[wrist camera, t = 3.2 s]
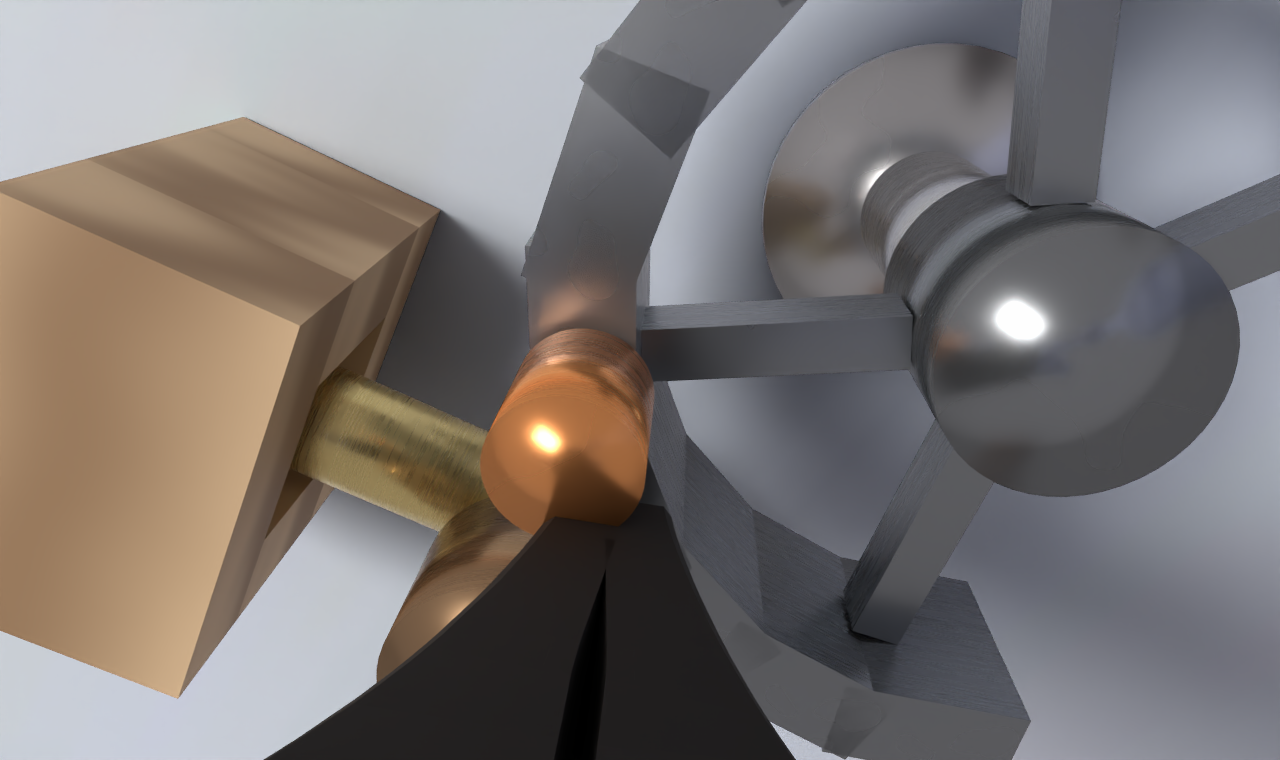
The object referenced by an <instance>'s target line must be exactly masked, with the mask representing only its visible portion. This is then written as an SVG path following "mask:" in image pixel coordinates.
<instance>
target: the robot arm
mask: <svg viewBox="0 0 1280 760" xmlns="http://www.w3.org/2000/svg"><path fill="white" fill-rule="evenodd" d="M264 760H796V759H795V758H794V756H793V755H792V754H791V752H790V751H789V749H788V748H787V746H786V745H785V744H784V742H783V741H782V739H781V738H780V737H779V735H778V734H777V732H776V731H775V729H774V728H773V726H772V724H771V723H770V721H769V720H768V718H767V717H766V715H765V714H764V712H763V711H762V709H761V707H760V706H759V704H758V702H757V701H756V699H755V698H754V696H753V694H752V693H751V691H750V689H749V688H748V686H747V684H746V682H745V681H744V679H743V677H742V676H741V674H740V672H739V670H738V669H737V667H736V665H735V663H734V662H733V660H732V658H731V656H730V654H729V653H728V651H727V649H726V647H725V645H724V643H723V641H722V639H721V638H720V636H719V634H718V632H717V630H716V628H715V625H714V623H713V621H712V619H711V617H710V615H709V613H708V611H707V609H706V607H705V605H704V603H703V601H702V599H701V597H700V594H699V592H698V590H697V588H696V585H695V583H694V581H693V578H692V576H691V573H690V571H689V568H688V566H687V564H686V561H685V559H684V556H683V553H682V550H681V548H680V545H679V542H678V539H677V536H676V532H675V529H674V525H673V521H672V517H671V516H670V514H669V513H668V511H667V510H666V509H665V507H664V506H658V505H651V504H645V503H638V505H637V507H636V508H635V510H634V511H633V513H632V514H631V515H630V516H629V517H628V518H627V520H625V521H624V522H623V523H622V524H621V525H620V526H612V525H606V524H600V523H593V522H587V521H581V520H575V519H568V518H562V517H556V516H555V517H553V518H551V519H550V520H548V521H546V522H545V523H543V524H542V525H541V527H540V528H539V529H538V531H537V532H536V533H535V534H534V535H533V537H532V538H531V539H530V540H529V541H528V543H527V544H526V545H525V546H524V547H523V549H522V550H521V551H520V552H519V553H518V554H517V555H516V556H515V557H514V559H513V560H512V561H511V562H510V563H509V564H508V565H507V566H506V567H505V568H504V569H503V570H502V571H501V572H500V574H499V575H498V576H497V577H496V578H495V579H494V580H493V581H492V582H491V583H490V584H489V585H488V586H487V587H486V588H485V589H484V590H483V591H482V592H481V593H480V594H479V595H478V596H477V597H476V598H475V599H474V600H473V601H472V602H471V603H470V604H469V605H468V606H467V607H466V608H464V609H463V610H462V611H461V612H460V613H459V614H458V615H457V616H456V617H455V618H454V619H453V620H452V621H450V622H449V623H448V624H447V625H446V626H445V627H444V628H443V629H442V630H441V631H440V632H439V633H437V634H436V635H435V636H434V637H433V638H432V639H431V640H430V641H428V642H427V643H426V644H425V645H424V646H423V647H421V648H420V649H419V650H418V651H417V652H415V653H414V654H413V655H412V656H411V657H409V658H408V659H407V660H406V661H404V662H403V663H402V664H401V665H399V666H398V667H397V668H396V669H394V670H393V671H392V672H391V673H389V674H388V675H387V676H385V677H384V678H383V679H381V680H380V681H379V682H377V683H376V684H375V685H373V686H372V687H371V688H369V689H368V690H367V691H366V692H364V693H363V694H361V695H360V696H359V697H357V698H356V699H355V700H353V701H352V702H350V703H349V704H347V705H346V706H344V707H343V708H341V709H340V710H339V711H337V712H336V713H334V714H333V715H331V716H330V717H328V718H327V719H325V720H324V721H322V722H321V723H319V724H318V725H317V726H315V727H314V728H312V729H311V730H309V731H308V732H306V733H305V734H303V735H302V736H300V737H299V738H297V739H296V740H294V741H293V742H291V743H290V744H288V745H286V746H285V747H283V748H282V749H280V750H279V751H277V752H275V753H274V754H272V755H271V756H269V757H267V758H266V759H264Z"/></svg>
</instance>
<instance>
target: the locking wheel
mask: <svg viewBox="0 0 1280 760" xmlns="http://www.w3.org/2000/svg"><path fill="white" fill-rule="evenodd" d="M806 1H807V0H640V1H639V2H638V4H637V5H636V6H635V7H634V9H633V10H632V11H631V13H630V14H629V15H628V16H627V18H626V19H625V20H624V22H623V23H622V24H621V25H620V27H619V28H618V29H617V30H616V32H615V33H614V34H613V36H612V37H611V38H610V39H609V40H607V41H605V42H603V43H601V44H599V45H597V46H596V48H595V51H594V54H593V57H592V60H591V63H590V65H589V66H588V68H587V69H586V70H585V71H584V73H583V74H582V75H581V77H580V79H581V80H582V81H583V82H584V85H583V88H582V91H581V94H580V97H579V100H578V103H577V106H576V109H575V112H574V115H573V118H572V121H571V124H570V127H569V130H568V133H567V136H566V140H565V143H564V146H563V149H562V152H561V155H560V158H559V161H558V164H557V167H556V170H555V173H554V176H553V179H552V182H551V185H550V188H549V191H548V194H547V197H546V200H545V203H544V206H543V210H542V213H541V216H540V219H539V222H538V225H537V228H536V231H535V232H534V234H533V235H532V237H531V238H530V239H529V241H528V242H527V244H526V245H525V260H526V261H525V264H524V267H523V270H522V273H521V276H523V277H526V281H527V303H528V324H529V346H530V352H529V353H528V354H527V356H526V357H525V359H524V361H523V362H522V364H521V366H520V368H519V370H518V372H517V374H516V377H515V379H514V381H513V383H512V385H511V387H510V389H509V391H508V393H507V395H506V397H505V399H504V401H503V403H502V405H501V408H500V410H499V412H498V414H497V416H496V418H495V420H494V422H493V424H492V426H491V428H490V430H489V432H488V434H487V436H486V439H485V441H484V444H483V447H482V452H481V458H480V469H481V477H482V481H483V485H484V487H485V490H486V492H487V494H488V496H489V498H490V500H491V501H492V503H493V504H494V505H495V507H496V508H497V510H498V511H499V512H500V513H501V514H502V515H503V516H504V517H505V518H506V519H508V520H509V521H510V522H511V523H512V524H514V525H515V526H517V527H519V528H520V529H522V530H524V531H526V532H528V533H530V534H532V535H534V534H535V533H536V532H537V531H538V529H539V528H540V527H541V525H542V524H543V523H545V522H546V521H548V520H550V519H551V518H553V517H555V516H556V517H562V518H568V519H575V520H581V521H587V522H593V523H600V524H606V525H612V526H620V525H621V524H622V523H623V522H624V521H625V520H627V518H628V517H629V516H630V515H631V514H632V513H633V511H634V510H635V508H636V507H637V505H638V503H645V504H651V505H658V506H664V507H665V509H666V510H667V511H668V513H669V514H670V516H671V517H672V521H673V525H674V529H675V532H676V536H677V539H678V542H679V545H680V548H681V550H682V553H683V556H684V559H685V561H686V564H687V566H688V568H689V571H690V573H691V576H692V578H693V581H694V583H695V585H696V588H697V590H698V592H699V594H700V597H701V599H702V601H703V603H704V605H705V607H706V609H707V611H708V613H709V615H710V617H711V619H712V621H713V623H714V625H715V628H716V630H717V632H718V634H719V636H720V638H721V639H722V641H723V643H724V645H725V647H726V649H727V651H728V653H729V654H730V656H731V658H732V660H733V662H734V663H735V665H736V667H737V669H738V670H739V672H740V674H741V676H742V677H743V679H744V681H745V682H746V684H747V686H748V688H749V689H750V691H751V693H752V694H753V696H754V698H755V699H756V701H757V702H758V704H759V706H760V707H761V709H762V711H763V712H764V714H765V715H766V717H767V718H768V720H769V721H770V722H772V723H774V724H776V725H778V726H780V727H782V728H784V729H786V730H788V731H790V732H792V733H794V734H796V735H798V736H800V737H802V738H804V739H805V740H807V741H809V742H811V743H813V744H815V745H817V746H819V747H821V748H822V752H828V753H833V754H835V755H837V756H839V757H841V758H843V759H846V758H847V757H848V756H849V757H854V758H860V759H865V760H1012V758H1013V756H1014V754H1015V752H1016V750H1017V748H1018V746H1019V744H1020V742H1021V740H1022V738H1023V736H1024V734H1025V732H1026V730H1027V728H1028V726H1029V724H1030V722H1031V720H1030V718H1029V716H1028V714H1027V711H1026V709H1025V707H1024V705H1023V703H1022V701H1021V698H1020V696H1019V694H1018V692H1017V690H1016V687H1015V685H1014V683H1013V681H1012V679H1011V676H1010V674H1009V672H1008V670H1007V668H1006V665H1005V663H1004V661H1003V659H1002V657H1001V654H1000V652H999V650H998V648H997V646H996V643H995V641H994V639H993V637H992V635H991V633H990V630H989V628H988V626H987V624H986V622H985V619H984V617H983V615H982V613H981V611H980V608H979V606H978V604H977V602H976V600H975V597H974V595H973V593H972V591H971V589H970V586H969V584H968V582H966V581H961V580H956V579H950V578H945V577H940V576H939V574H940V573H941V571H942V569H943V567H944V566H945V564H946V562H947V561H948V559H949V557H950V556H951V554H952V552H953V551H954V549H955V547H956V545H957V544H958V542H959V540H960V539H961V537H962V535H963V534H964V532H965V530H966V529H967V527H968V525H969V523H970V522H971V520H972V518H973V517H974V515H975V513H976V512H977V510H978V508H979V507H980V505H981V503H982V501H983V500H984V498H985V496H986V495H987V493H988V491H989V490H990V488H991V486H992V485H993V483H994V482H995V483H997V484H1000V485H1002V486H1005V487H1007V488H1010V489H1012V490H1016V491H1020V492H1024V493H1028V494H1034V495H1041V496H1055V497H1068V496H1080V495H1088V494H1093V493H1098V492H1103V491H1106V490H1110V489H1113V488H1116V487H1120V486H1123V485H1125V484H1128V483H1130V482H1132V481H1135V480H1137V479H1140V478H1142V477H1143V476H1145V475H1147V474H1149V473H1151V472H1153V471H1155V470H1156V469H1158V468H1160V467H1161V466H1163V465H1164V464H1166V463H1167V462H1169V461H1170V460H1172V459H1173V458H1174V457H1176V456H1177V455H1178V454H1179V453H1180V452H1182V451H1183V450H1184V449H1185V448H1186V447H1188V446H1189V445H1190V444H1191V443H1192V442H1193V441H1194V440H1195V439H1196V438H1197V436H1198V435H1199V434H1200V433H1201V432H1202V431H1203V430H1204V429H1205V428H1206V426H1207V425H1208V424H1209V422H1210V421H1211V420H1212V418H1213V417H1214V416H1215V414H1216V413H1217V411H1218V409H1219V408H1220V406H1221V404H1222V402H1223V401H1224V399H1225V397H1226V395H1227V392H1228V390H1229V388H1230V385H1231V383H1232V381H1233V377H1234V374H1235V370H1236V367H1237V362H1238V355H1239V348H1240V330H1239V323H1238V317H1237V311H1236V308H1235V305H1234V303H1233V300H1232V297H1231V294H1230V292H1229V291H1230V290H1233V289H1235V288H1237V287H1240V286H1242V285H1245V284H1247V283H1250V282H1252V281H1255V280H1257V279H1260V278H1262V277H1265V276H1267V275H1270V274H1272V273H1274V272H1277V271H1279V270H1280V174H1279V175H1277V176H1275V177H1272V178H1270V179H1268V180H1265V181H1263V182H1261V183H1259V184H1256V185H1254V186H1252V187H1249V188H1247V189H1245V190H1242V191H1240V192H1238V193H1235V194H1233V195H1231V196H1228V197H1226V198H1224V199H1221V200H1219V201H1217V202H1214V203H1212V204H1210V205H1207V206H1205V207H1203V208H1200V209H1198V210H1196V211H1193V212H1191V213H1189V214H1187V215H1184V216H1182V217H1180V218H1177V219H1175V220H1173V221H1170V222H1168V223H1166V224H1163V225H1161V226H1159V227H1156V228H1154V229H1153V228H1152V227H1150V226H1148V225H1146V224H1144V223H1142V222H1140V221H1138V220H1136V219H1134V218H1132V217H1130V216H1128V215H1126V214H1124V213H1122V212H1120V211H1118V210H1117V209H1115V208H1113V207H1111V206H1109V205H1107V204H1105V203H1103V202H1101V201H1099V200H1097V199H1096V193H1097V185H1098V177H1099V170H1100V162H1101V154H1102V147H1103V139H1104V131H1105V124H1106V116H1107V108H1108V101H1109V93H1110V86H1111V78H1112V70H1113V63H1114V55H1115V47H1116V40H1117V32H1118V24H1119V17H1120V9H1121V1H1122V0H1022V10H1021V21H1020V32H1019V44H1018V55H1017V66H1016V78H1015V89H1014V100H1013V111H1012V123H1011V134H1010V145H1009V157H1008V168H1007V174H1004V175H996V176H991V177H987V178H983V179H979V180H976V181H973V182H971V183H968V184H966V185H963V186H961V187H959V188H957V189H955V190H953V191H951V192H949V193H948V194H946V195H944V196H943V197H942V198H940V199H939V200H937V201H936V202H934V203H933V204H932V205H931V206H929V207H928V208H927V209H926V210H925V211H924V212H923V213H921V214H920V215H919V217H918V218H917V219H916V220H915V221H914V222H913V223H912V224H911V225H910V227H909V228H908V229H907V231H906V232H905V234H904V235H903V236H902V238H901V239H900V241H899V243H898V245H897V247H896V248H895V250H894V252H893V254H892V257H891V260H890V262H889V265H888V268H887V272H886V276H885V280H884V288H883V294H867V295H849V296H831V297H812V298H794V299H776V300H757V301H739V302H721V303H702V304H684V305H666V306H649V296H650V246H651V243H652V241H653V238H654V236H655V233H656V231H657V228H658V225H659V223H660V220H661V218H662V215H663V213H664V210H665V207H666V205H667V202H668V200H669V197H670V195H671V192H672V189H673V187H674V184H675V182H676V179H677V177H678V174H679V171H680V169H681V166H682V164H683V161H684V159H685V156H686V153H687V151H688V148H689V146H690V143H691V141H692V138H693V135H694V133H695V130H696V129H697V128H698V127H699V125H700V124H701V123H702V122H703V121H704V120H705V118H706V117H707V116H708V115H709V114H710V113H711V111H712V110H713V109H714V108H715V107H716V106H717V104H718V103H719V102H720V101H721V100H722V99H723V97H724V96H725V95H726V94H727V93H728V92H729V90H730V89H731V88H732V87H733V86H734V85H735V84H736V82H737V81H738V80H739V79H740V78H741V77H742V75H743V74H744V73H745V72H746V71H747V70H748V68H749V67H750V66H751V65H752V64H753V63H754V61H755V60H756V59H757V58H758V57H759V56H760V54H761V53H762V52H763V51H764V50H765V49H766V47H767V46H768V45H769V44H770V43H771V42H772V41H773V39H774V38H775V37H776V36H777V35H778V34H779V32H780V31H781V30H782V29H783V28H784V27H785V25H786V24H787V23H788V22H789V21H790V20H791V18H792V17H793V16H794V15H795V14H796V13H797V11H798V10H799V9H800V8H801V7H802V6H803V4H804V3H805V2H806ZM891 370H909V371H910V373H911V375H912V377H913V379H914V380H915V382H916V384H917V386H918V388H919V389H920V391H921V393H922V395H923V397H924V398H925V400H926V402H927V404H928V406H929V407H930V409H931V411H932V413H933V415H934V416H935V418H936V419H935V421H934V423H933V425H932V427H931V429H930V430H929V432H928V434H927V436H926V438H925V440H924V442H923V443H922V445H921V447H920V449H919V451H918V453H917V455H916V456H915V458H914V460H913V462H912V464H911V466H910V468H909V469H908V471H907V473H906V475H905V477H904V479H903V481H902V482H901V484H900V486H899V488H898V490H897V492H896V494H895V495H894V497H893V499H892V501H891V503H890V505H889V507H888V508H887V510H886V512H885V514H884V516H883V518H882V520H881V521H880V523H879V525H878V527H877V529H876V531H875V533H874V534H873V536H872V538H871V540H870V542H869V544H868V546H867V547H866V549H865V551H864V553H863V555H862V557H861V559H860V560H859V561H857V560H852V559H846V558H841V557H839V556H837V555H835V554H833V553H831V552H830V551H828V550H826V549H824V548H822V547H820V546H819V545H817V544H815V543H813V542H811V541H810V540H808V539H806V538H804V537H802V536H801V535H799V534H797V533H795V532H793V531H791V530H790V529H788V528H786V527H784V526H782V525H781V524H779V523H777V522H775V521H773V520H771V519H770V518H768V517H766V516H764V515H762V514H761V513H759V512H757V511H755V510H753V509H752V508H751V507H750V506H749V505H748V503H747V502H746V501H745V500H744V499H743V498H742V497H741V495H740V494H739V493H738V492H737V491H736V490H735V489H734V488H733V486H732V485H731V484H730V483H729V482H728V481H727V480H726V478H725V477H724V476H723V475H722V474H721V473H720V472H719V471H718V469H717V468H716V467H715V466H714V465H713V464H712V463H711V461H710V460H709V459H708V458H707V457H706V456H705V455H704V453H703V452H702V451H701V450H700V449H699V448H698V447H697V446H696V444H695V443H694V442H693V441H692V440H691V439H690V438H689V436H688V435H687V434H686V432H685V429H684V426H683V424H682V421H681V418H680V416H679V413H678V410H677V407H676V405H675V402H674V399H673V397H672V394H671V391H670V389H669V386H668V383H667V381H677V380H698V379H720V378H741V377H763V376H784V375H805V374H827V373H848V372H869V371H891Z"/></svg>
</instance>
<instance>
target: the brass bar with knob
mask: <svg viewBox="0 0 1280 760" xmlns="http://www.w3.org/2000/svg"><path fill="white" fill-rule="evenodd" d="M488 432H489V431H486V430H484V429H482V428H480V427H477V426H475V425H473V424H471V423H468V422H466V421H464V420H462V419H459V418H457V417H455V416H452V415H450V414H448V413H446V412H443V411H441V410H439V409H437V408H434V407H432V406H430V405H428V404H425V403H423V402H421V401H419V400H416V399H414V398H412V397H409V396H407V395H405V394H403V393H400V392H398V391H396V390H394V389H391V388H389V387H387V386H385V385H382V384H380V383H378V382H375V381H373V380H371V379H369V378H366V377H364V376H362V375H360V374H357V373H355V372H353V371H351V370H348V369H346V368H344V367H342V366H339V365H338V366H337V367H336V368H335V369H334V370H333V371H332V372H331V373H330V375H329V376H328V377H327V378H326V379H325V380H324V381H323V382H322V383H321V384H320V385H319V386H318V388H317V390H316V393H315V396H314V399H313V402H312V405H311V408H310V411H309V413H308V416H307V419H306V422H305V425H304V428H303V431H302V434H301V436H300V439H299V442H298V445H297V448H296V451H295V454H294V456H293V459H292V462H291V465H290V468H289V469H292V470H294V471H296V472H299V473H301V474H304V475H306V476H308V477H311V478H313V479H315V480H318V481H320V482H322V483H325V484H327V485H330V486H332V487H334V488H337V489H339V490H341V491H344V492H346V493H348V494H351V495H353V496H356V497H358V498H360V499H363V500H365V501H367V502H370V503H372V504H374V505H377V506H379V507H381V508H384V509H386V510H389V511H391V512H393V513H396V514H398V515H400V516H403V517H405V518H407V519H410V520H412V521H415V522H417V523H419V524H422V525H424V526H426V527H429V528H431V529H433V530H436V531H438V532H439V533H438V535H437V537H436V538H435V540H434V542H433V544H432V546H431V548H430V550H429V552H428V554H427V556H426V558H425V560H424V562H423V564H422V566H421V568H420V571H419V573H418V575H417V577H416V579H415V581H414V583H413V585H412V587H411V589H410V591H409V593H408V595H407V597H406V599H405V601H404V603H403V605H402V607H401V609H400V612H399V614H398V616H397V618H396V620H395V622H394V624H393V626H392V628H391V630H390V632H389V634H388V636H387V638H386V640H385V642H384V644H383V647H382V650H381V653H380V655H379V659H378V665H377V682H379V681H380V680H381V679H383V678H384V677H385V676H387V675H388V674H389V673H391V672H392V671H393V670H394V669H396V668H397V667H398V666H399V665H401V664H402V663H403V662H404V661H406V660H407V659H408V658H409V657H411V656H412V655H413V654H414V653H415V652H417V651H418V650H419V649H420V648H421V647H423V646H424V645H425V644H426V643H427V642H428V641H430V640H431V639H432V638H433V637H434V636H435V635H436V634H437V633H439V632H440V631H441V630H442V629H443V628H444V627H445V626H446V625H447V624H448V623H449V622H450V621H452V620H453V619H454V618H455V617H456V616H457V615H458V614H459V613H460V612H461V611H462V610H463V609H464V608H466V607H467V606H468V605H469V604H470V603H471V602H472V601H473V600H474V599H475V598H476V597H477V596H478V595H479V594H480V593H481V592H482V591H483V590H484V589H485V588H486V587H487V586H488V585H489V584H490V583H491V582H492V581H493V580H494V579H495V578H496V577H497V576H498V575H499V574H500V572H501V571H502V570H503V569H504V568H505V567H506V566H507V565H508V564H509V563H510V562H511V561H512V560H513V559H514V557H515V556H516V555H517V554H518V553H519V552H520V551H521V550H522V549H523V547H524V546H525V545H526V544H527V543H528V541H529V540H530V539H531V538H532V537H533V535H532V534H530V533H528V532H526V531H524V530H522V529H520V528H519V527H517V526H515V525H514V524H512V523H511V522H510V521H509V520H508V519H506V518H505V517H504V516H503V515H502V514H501V513H500V512H499V511H498V510H497V508H496V507H495V505H494V504H493V503H492V501H491V500H490V498H489V496H488V494H487V492H486V490H485V487H484V485H483V481H482V477H481V469H480V458H481V452H482V447H483V444H484V441H485V439H486V436H487V434H488Z"/></svg>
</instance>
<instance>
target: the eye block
mask: <svg viewBox="0 0 1280 760" xmlns="http://www.w3.org/2000/svg"><path fill="white" fill-rule="evenodd" d="M439 212H440V209H437V208H435V207H433V206H431V205H429V204H427V203H425V202H423V201H421V200H418V199H416V198H414V197H412V196H410V195H408V194H406V193H404V192H401V191H399V190H397V189H395V188H393V187H391V186H389V185H387V184H384V183H382V182H380V181H378V180H376V179H374V178H372V177H370V176H368V175H365V174H363V173H361V172H359V171H357V170H355V169H353V168H351V167H348V166H346V165H344V164H342V163H340V162H338V161H336V160H334V159H331V158H329V157H327V156H325V155H323V154H321V153H319V152H317V151H315V150H312V149H310V148H308V147H306V146H304V145H302V144H300V143H298V142H295V141H293V140H291V139H289V138H287V137H285V136H283V135H281V134H278V133H276V132H274V131H272V130H270V129H268V128H266V127H264V126H262V125H259V124H257V123H255V122H253V121H251V120H249V119H247V118H245V117H242V118H238V119H234V120H231V121H227V122H223V123H219V124H216V125H212V126H208V127H204V128H201V129H197V130H193V131H189V132H186V133H182V134H178V135H174V136H171V137H167V138H163V139H159V140H156V141H152V142H148V143H144V144H141V145H137V146H133V147H129V148H126V149H122V150H118V151H114V152H111V153H107V154H103V155H99V156H96V157H92V158H88V159H84V160H81V161H77V162H73V163H69V164H66V165H62V166H58V167H54V168H51V169H47V170H43V171H39V172H36V173H32V174H28V175H24V176H21V177H17V178H13V179H9V180H6V181H2V182H0V631H3V632H5V633H8V634H10V635H13V636H16V637H18V638H21V639H23V640H26V641H29V642H31V643H34V644H37V645H39V646H42V647H44V648H47V649H50V650H52V651H55V652H57V653H60V654H63V655H65V656H68V657H70V658H73V659H76V660H78V661H81V662H83V663H86V664H89V665H91V666H94V667H97V668H99V669H102V670H104V671H107V672H110V673H112V674H115V675H117V676H120V677H123V678H125V679H128V680H130V681H133V682H136V683H138V684H141V685H143V686H146V687H149V688H151V689H154V690H157V691H159V692H162V693H164V694H167V695H170V696H172V697H175V698H177V699H178V698H179V697H180V695H181V694H182V693H183V691H184V690H185V689H186V687H187V686H188V685H189V683H190V682H191V681H192V679H193V678H194V677H195V675H196V674H197V673H198V671H199V670H200V668H201V667H202V666H203V664H204V663H205V662H206V660H207V659H208V658H209V656H210V655H211V654H212V652H213V651H214V650H215V648H216V647H217V646H218V644H219V643H220V642H221V640H222V639H223V637H224V636H225V635H226V633H227V632H228V631H229V629H230V628H231V627H232V625H233V624H234V623H235V621H236V620H237V619H238V617H239V616H240V615H241V613H242V612H243V611H244V609H245V608H246V606H247V605H248V604H249V602H250V601H251V600H252V598H253V597H254V596H255V594H256V593H257V592H258V590H259V589H260V588H261V586H262V585H263V584H264V582H265V581H266V580H267V578H268V577H269V575H270V574H271V573H272V571H273V570H274V569H275V567H276V566H277V565H278V563H279V562H280V561H281V559H282V558H283V557H284V555H285V554H286V553H287V551H288V550H289V549H290V547H291V546H292V545H293V543H294V542H295V540H296V539H297V538H298V536H299V535H300V534H301V532H302V531H303V530H304V528H305V527H306V526H307V524H308V523H309V522H310V520H311V519H312V518H313V516H314V515H315V514H316V512H317V511H318V509H319V508H320V507H321V505H322V504H323V503H324V501H325V500H326V499H327V497H328V496H329V495H330V493H331V492H332V491H333V489H334V487H332V486H330V485H327V484H325V483H322V482H320V481H318V480H315V479H313V478H311V477H308V476H306V475H304V474H301V473H299V472H296V471H294V470H292V469H289V468H290V465H291V462H292V459H293V456H294V454H295V451H296V448H297V445H298V442H299V439H300V436H301V434H302V431H303V428H304V425H305V422H306V419H307V416H308V413H309V411H310V408H311V405H312V402H313V399H314V396H315V393H316V390H317V388H318V386H319V385H320V384H321V383H322V382H323V381H324V380H325V379H326V378H327V377H328V376H329V375H330V373H331V372H332V371H333V370H334V369H335V368H336V367H337V366H338V365H339V366H342V367H344V368H346V369H348V370H351V371H353V372H355V373H357V374H360V375H362V376H364V377H366V378H369V379H371V380H373V381H376V379H377V376H378V373H379V371H380V368H381V365H382V363H383V360H384V357H385V355H386V352H387V350H388V347H389V344H390V342H391V339H392V336H393V334H394V331H395V328H396V326H397V323H398V321H399V318H400V315H401V313H402V310H403V307H404V305H405V302H406V299H407V297H408V294H409V292H410V289H411V286H412V284H413V281H414V278H415V276H416V273H417V270H418V268H419V265H420V262H421V260H422V257H423V255H424V252H425V249H426V247H427V244H428V241H429V239H430V236H431V233H432V231H433V228H434V226H435V223H436V220H437V218H438V215H439Z"/></svg>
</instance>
